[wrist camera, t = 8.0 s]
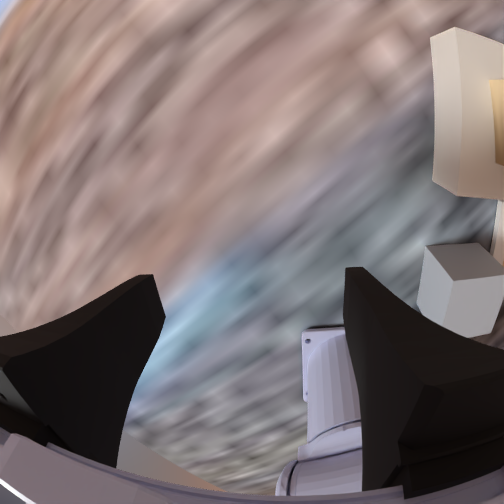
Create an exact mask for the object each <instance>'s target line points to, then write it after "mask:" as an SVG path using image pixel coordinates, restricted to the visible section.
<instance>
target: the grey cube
mask: <svg viewBox="0 0 504 504" xmlns="http://www.w3.org/2000/svg"><path fill="white" fill-rule="evenodd" d="M503 298H504V267H503V266H502V265H501V264H500V263H499V262H498V261H497V260H496V259H495V258H494V257H493V256H492V255H491V254H490V253H489V252H487V251H486V250H485V249H484V248H483V247H482V246H481V245H480V244H479V243H466V244H450V245H434V246H425V254H424V261H423V268H422V275H421V281H420V287H419V292H418V298H417V305H418V307H419V309H420V311H421V313H422V315H424V316H425V317H427V318H428V319H430V320H432V321H433V322H435V323H437V324H439V325H441V326H443V327H445V328H447V329H449V330H451V331H453V332H455V333H457V334H459V335H461V336H464V337H466V338H470V337H475V336H480V335H484V334H489V333H491V331H492V329H493V326H494V324H495V321H496V318H497V315H498V313H499V310H500V307H501V304H502V301H503Z"/></svg>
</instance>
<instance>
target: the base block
mask: <svg viewBox="0 0 504 504" xmlns="http://www.w3.org/2000/svg"><path fill="white" fill-rule="evenodd" d="M430 43H431V53H432V63H433V77H434V98H435V141H434V163H433V177H432V181H433V182H435V183H437V184H438V185H440V186H442V187H443V188H445V189H446V190H448V191H450V192H451V193H453V194H454V195H456V196H464V197H476V198H487V199H498V200H504V166H502V165H499V164H497V163H495V133H494V119H493V108H492V99H491V91H490V84H489V80H502V79H504V44H502V43H499V42H497V41H494V40H492V39H489V38H486V37H484V36H481V35H478V34H475V33H472V32H469V31H466V30H463V29H460V28H456V27H454V28H451V29H449V30H446V31H444V32H442V33H439V34H437V35H435V36H433V37H430Z"/></svg>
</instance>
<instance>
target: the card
mask: <svg viewBox="0 0 504 504" xmlns="http://www.w3.org/2000/svg"><path fill="white" fill-rule="evenodd" d="M490 254H491V255H492V256H493V257H494V258H495V259H496V260H497V261H498V262H499V263H500V264H501V265H502V266H503V267H504V200H498V203H497V211H496V219H495V225H494V232H493V237H492V243H491V248H490Z"/></svg>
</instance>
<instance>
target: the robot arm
mask: <svg viewBox="0 0 504 504" xmlns="http://www.w3.org/2000/svg"><path fill="white" fill-rule="evenodd" d="M165 318H166V316H165V313H164V310H163V306H162V303H161V300H160V297H159V293H158V290H157V287H156V283H155V280H154V276H153V274H148V275H138V276H135V277H133V278H131V279H129V280H127V281H126V282H124V283H122V284H120V285H119V286H117V287H115V288H113V289H112V290H110V291H108V292H107V293H105V294H103V295H102V296H100V297H98V298H97V299H95V300H93V301H91V302H90V303H88V304H86V305H84V306H83V307H81V308H79V309H77V310H75V311H73V312H71V313H69V314H67V315H65V316H63V317H61V318H59V319H56V320H54V321H52V322H49V323H46V324H44V325H41V326H38V327H36V328H33V329H30V330H26V331H23V332H19V333H16V334H12V335H7V336H2V337H0V484H2V485H3V486H4V487H6V488H7V489H8V490H9V491H11V492H12V493H14V494H15V495H16V496H18V497H19V498H21V499H22V500H23V501H25V502H26V504H504V350H503V349H499V348H495V347H492V346H488V345H485V344H482V343H479V342H477V341H474V340H471V339H469V338H466V337H464V336H461V335H459V334H457V333H455V332H453V331H451V330H449V329H447V328H445V327H443V326H441V325H439V324H437V323H435V322H433V321H432V320H430V319H428V318H427V317H425V316H424V315H422V314H420V313H419V312H417V311H416V310H414V309H413V308H411V307H410V306H409V305H407V304H406V303H405V302H403V301H402V300H401V299H399V298H398V297H397V296H396V295H394V294H393V293H392V292H391V291H389V290H388V289H387V288H386V287H385V286H384V285H382V284H381V283H380V282H379V281H378V280H377V279H376V278H375V277H374V276H372V275H371V274H370V273H369V272H368V271H367V270H366V269H364V268H363V267H348V268H346V269H345V290H344V306H343V319H344V327H335V328H320V329H306V330H304V331H303V332H302V356H303V400H304V401H306V402H308V430H307V444H306V445H302V446H299V447H298V460H293V461H291V462H289V463H288V464H287V465H286V466H285V468H284V469H283V471H282V473H281V475H280V476H279V479H278V482H277V485H276V492H275V496H273V495H253V494H240V493H230V492H221V491H214V490H207V489H200V488H194V487H188V486H183V485H178V484H173V483H168V482H164V481H159V480H155V479H151V478H147V477H143V476H140V475H136V474H132V473H129V472H126V471H122V470H119V469H116V465H117V457H118V451H119V445H120V440H121V435H122V430H123V426H124V422H125V418H126V415H127V411H128V407H129V404H130V401H131V398H132V395H133V392H134V389H135V387H136V384H137V382H138V379H139V377H140V375H141V373H142V371H143V369H144V367H145V365H146V363H147V361H148V359H149V357H150V355H151V353H152V351H153V349H154V347H155V345H156V343H157V341H158V339H159V336H160V333H161V331H162V328H163V324H164V321H165ZM306 339H310V340H306Z"/></svg>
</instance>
